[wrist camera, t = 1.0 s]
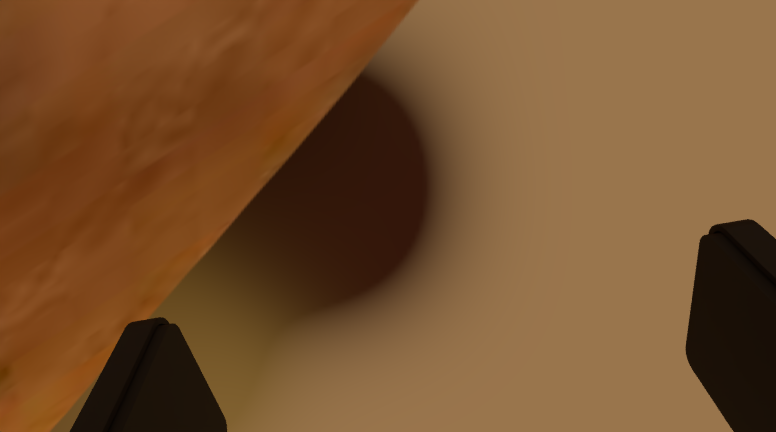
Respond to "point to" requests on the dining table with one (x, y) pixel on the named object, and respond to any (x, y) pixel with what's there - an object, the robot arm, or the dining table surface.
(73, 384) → the dining table surface
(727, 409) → the robot arm
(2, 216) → the dining table surface
